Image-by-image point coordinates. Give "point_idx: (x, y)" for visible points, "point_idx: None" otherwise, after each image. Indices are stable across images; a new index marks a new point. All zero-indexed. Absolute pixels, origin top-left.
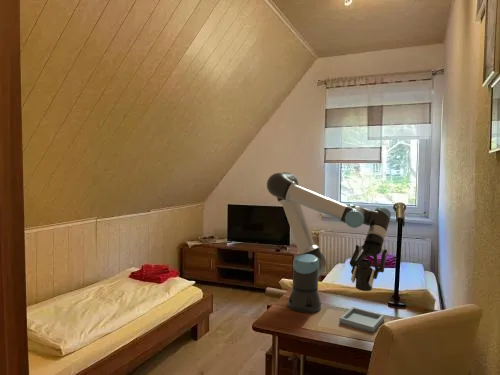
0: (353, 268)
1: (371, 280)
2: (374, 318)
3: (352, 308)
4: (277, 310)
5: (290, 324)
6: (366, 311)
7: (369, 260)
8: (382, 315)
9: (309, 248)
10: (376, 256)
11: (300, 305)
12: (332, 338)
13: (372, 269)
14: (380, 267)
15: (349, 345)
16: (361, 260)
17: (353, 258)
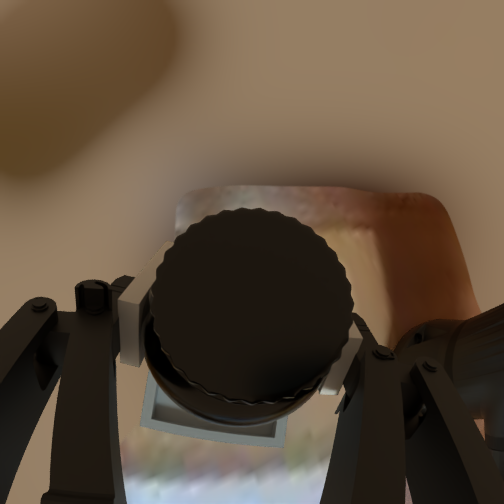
0: (363, 337)
1: (158, 252)
2: (178, 409)
3: (279, 430)
4: (464, 299)
5: (400, 233)
6: (216, 432)
7: (186, 375)
8: (146, 417)
9: None
10: (52, 485)
11: (437, 319)
12: (277, 203)
13: (144, 319)
14: (44, 311)
15: (225, 186)
16: (316, 284)
17: (447, 410)
